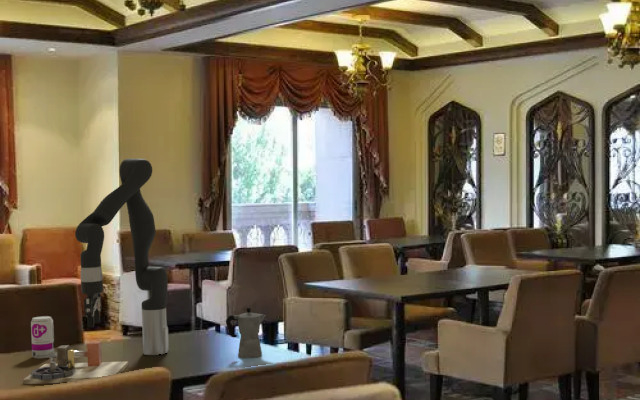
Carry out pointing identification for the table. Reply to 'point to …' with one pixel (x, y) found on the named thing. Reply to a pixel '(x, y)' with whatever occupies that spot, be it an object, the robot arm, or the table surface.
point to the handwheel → (59, 373)
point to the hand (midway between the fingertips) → (93, 324)
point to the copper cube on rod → (86, 354)
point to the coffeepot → (247, 333)
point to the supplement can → (42, 336)
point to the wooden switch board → (78, 369)
